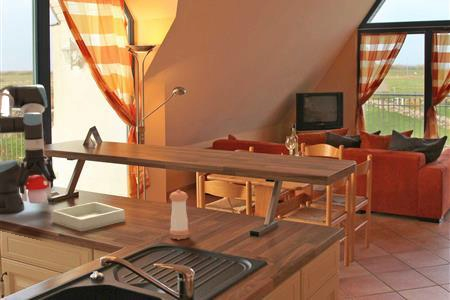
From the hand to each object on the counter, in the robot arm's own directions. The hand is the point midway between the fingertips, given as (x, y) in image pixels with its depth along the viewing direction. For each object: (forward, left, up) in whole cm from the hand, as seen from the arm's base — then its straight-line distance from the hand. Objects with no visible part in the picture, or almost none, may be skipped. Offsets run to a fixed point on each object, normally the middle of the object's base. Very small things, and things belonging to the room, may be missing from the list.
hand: (36, 198), depth 253 cm
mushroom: (0, 0, -2) cm, 2 cm away
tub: (+18, +14, -10) cm, 25 cm away
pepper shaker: (+66, +23, -10) cm, 71 cm away
